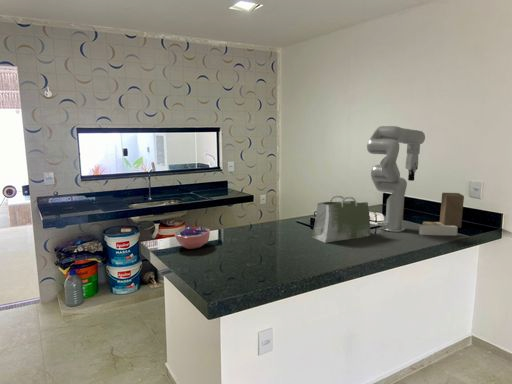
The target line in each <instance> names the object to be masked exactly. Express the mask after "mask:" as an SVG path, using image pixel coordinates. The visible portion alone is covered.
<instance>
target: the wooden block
mask: <svg viewBox="0 0 512 384" xmlns="http://www.w3.org/2000/svg"><path fill="white" fill-rule="evenodd" d="M464 199H465V196H464V195H463V194H461V193H459V192H441V200H440V201H441V204H440V213H439V222H441V223H442V224H444V225H445V226H457V227H458V229H460V228H462V224H463V223H462V222H463V220H462V219H463V211H464Z"/></svg>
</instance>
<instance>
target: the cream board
mask: <svg viewBox="0 0 512 384" xmlns="http://www.w3.org/2000/svg"><path fill="white" fill-rule="evenodd" d="M458 229H459V228H458V227H457V226H442V225H423V224H419V226H418V235H420V236H456V237H457V235H458Z"/></svg>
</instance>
